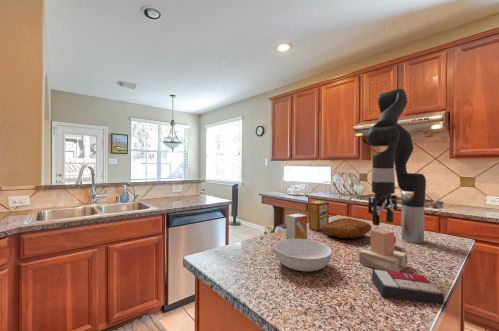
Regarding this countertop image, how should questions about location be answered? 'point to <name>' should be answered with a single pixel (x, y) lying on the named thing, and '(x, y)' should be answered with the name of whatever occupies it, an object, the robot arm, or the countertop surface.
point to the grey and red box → (406, 287)
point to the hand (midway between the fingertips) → (383, 223)
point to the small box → (296, 226)
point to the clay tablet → (346, 228)
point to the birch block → (383, 260)
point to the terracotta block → (382, 242)
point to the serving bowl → (302, 254)
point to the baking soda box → (318, 215)
